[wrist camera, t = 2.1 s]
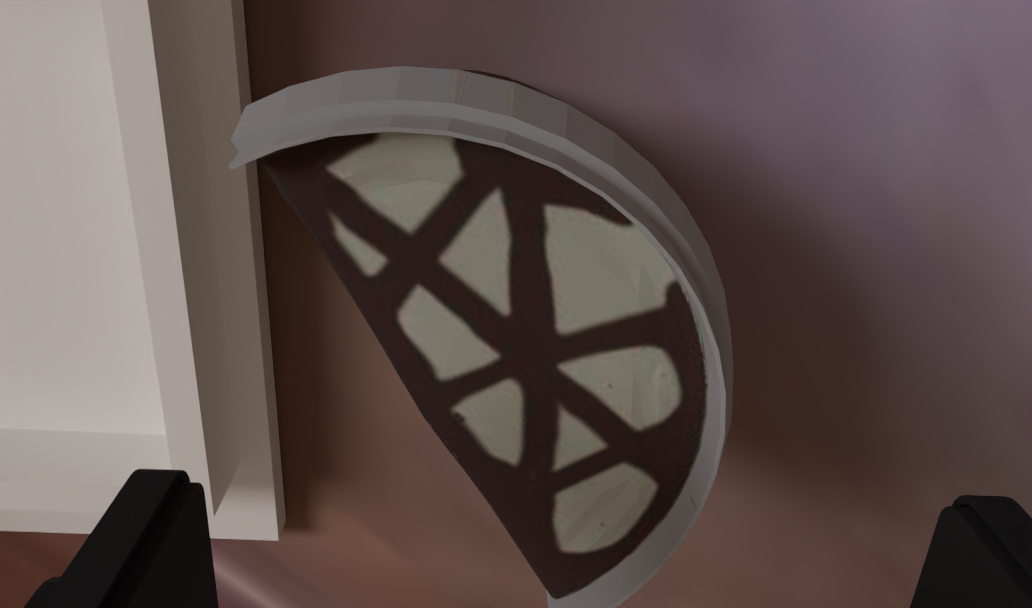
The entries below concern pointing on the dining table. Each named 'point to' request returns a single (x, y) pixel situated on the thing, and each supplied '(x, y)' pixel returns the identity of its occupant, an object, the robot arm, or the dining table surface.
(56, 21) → the white dish rack
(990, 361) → the dining table surface
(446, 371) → the food container
